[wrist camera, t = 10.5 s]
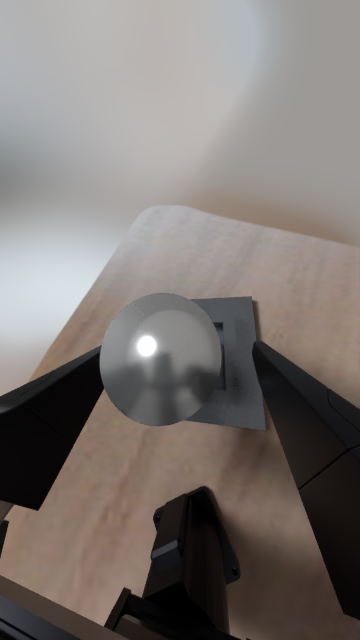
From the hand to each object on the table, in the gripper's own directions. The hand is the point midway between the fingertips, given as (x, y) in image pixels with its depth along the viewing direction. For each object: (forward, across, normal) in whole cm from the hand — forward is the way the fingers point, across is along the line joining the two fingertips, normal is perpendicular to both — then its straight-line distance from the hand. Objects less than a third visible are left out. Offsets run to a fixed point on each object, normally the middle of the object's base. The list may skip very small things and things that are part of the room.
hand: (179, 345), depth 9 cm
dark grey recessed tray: (+7, 0, +7) cm, 10 cm away
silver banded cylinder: (+6, 0, +7) cm, 9 cm away
